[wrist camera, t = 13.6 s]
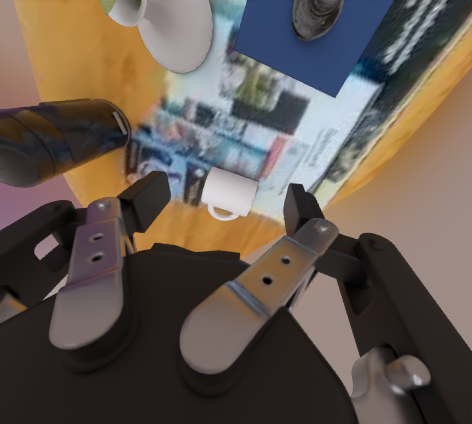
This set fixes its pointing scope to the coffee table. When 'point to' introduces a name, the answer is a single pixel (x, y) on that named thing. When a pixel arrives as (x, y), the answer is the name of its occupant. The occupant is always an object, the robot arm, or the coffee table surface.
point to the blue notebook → (309, 52)
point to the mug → (228, 193)
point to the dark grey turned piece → (314, 17)
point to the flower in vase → (168, 29)
